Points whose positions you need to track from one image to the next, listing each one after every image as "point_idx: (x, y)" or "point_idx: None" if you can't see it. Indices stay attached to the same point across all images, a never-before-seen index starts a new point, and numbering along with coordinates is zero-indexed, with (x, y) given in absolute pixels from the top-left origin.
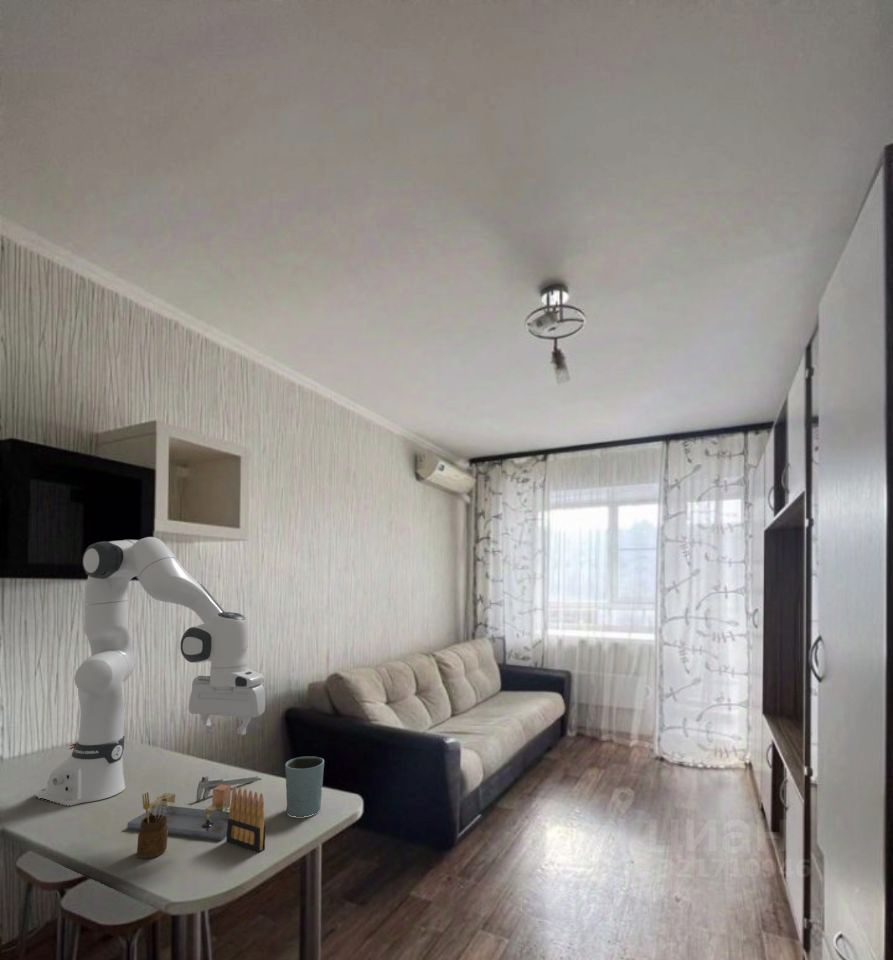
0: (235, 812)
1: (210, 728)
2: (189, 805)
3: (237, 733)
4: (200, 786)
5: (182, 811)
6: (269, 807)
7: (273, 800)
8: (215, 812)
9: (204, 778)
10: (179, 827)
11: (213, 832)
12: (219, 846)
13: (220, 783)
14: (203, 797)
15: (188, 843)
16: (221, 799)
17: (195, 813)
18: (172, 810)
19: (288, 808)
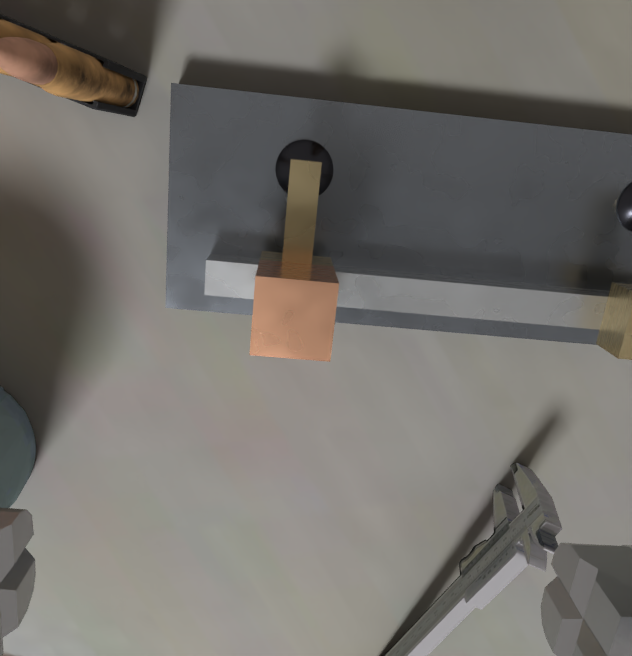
0: (27, 30)
1: (587, 606)
2: (494, 314)
3: (11, 514)
4: (539, 506)
5: (512, 284)
6: (144, 454)
7: (166, 523)
8: None
9: (541, 544)
10: (440, 126)
11: (224, 90)
12: (152, 23)
13: (468, 581)
14: (509, 495)
15: (331, 36)
16: (270, 264)
17: (433, 275)
18: (571, 289)
19: None
